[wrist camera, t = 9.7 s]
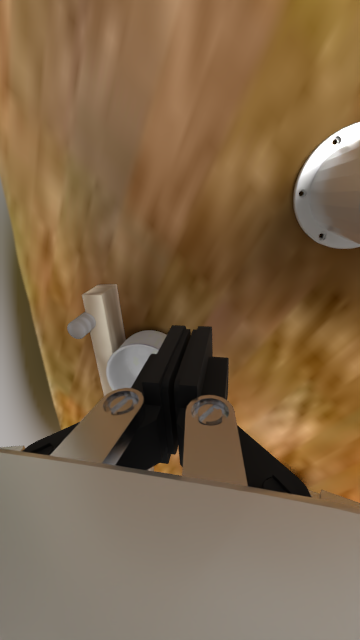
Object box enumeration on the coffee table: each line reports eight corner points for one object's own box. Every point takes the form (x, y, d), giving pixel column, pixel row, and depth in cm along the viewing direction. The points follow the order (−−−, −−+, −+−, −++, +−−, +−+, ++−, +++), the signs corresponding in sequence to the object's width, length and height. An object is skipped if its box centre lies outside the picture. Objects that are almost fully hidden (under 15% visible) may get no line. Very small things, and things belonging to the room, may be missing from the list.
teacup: (114, 337, 45) (90, 364, 38) (166, 310, 41) (150, 334, 34) (159, 398, 49) (145, 433, 42) (211, 378, 45) (205, 413, 38)
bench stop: (116, 284, 41) (90, 302, 34) (137, 414, 52) (121, 449, 45) (91, 284, 42) (60, 302, 35) (117, 412, 53) (97, 446, 45)
